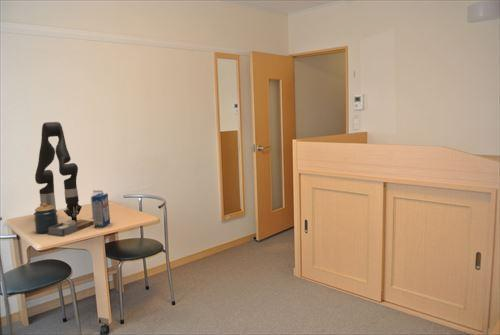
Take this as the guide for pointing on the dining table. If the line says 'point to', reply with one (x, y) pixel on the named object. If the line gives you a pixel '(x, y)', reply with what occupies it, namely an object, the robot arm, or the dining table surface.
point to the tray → (61, 230)
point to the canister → (45, 218)
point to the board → (83, 224)
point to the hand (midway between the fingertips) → (74, 222)
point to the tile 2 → (69, 223)
